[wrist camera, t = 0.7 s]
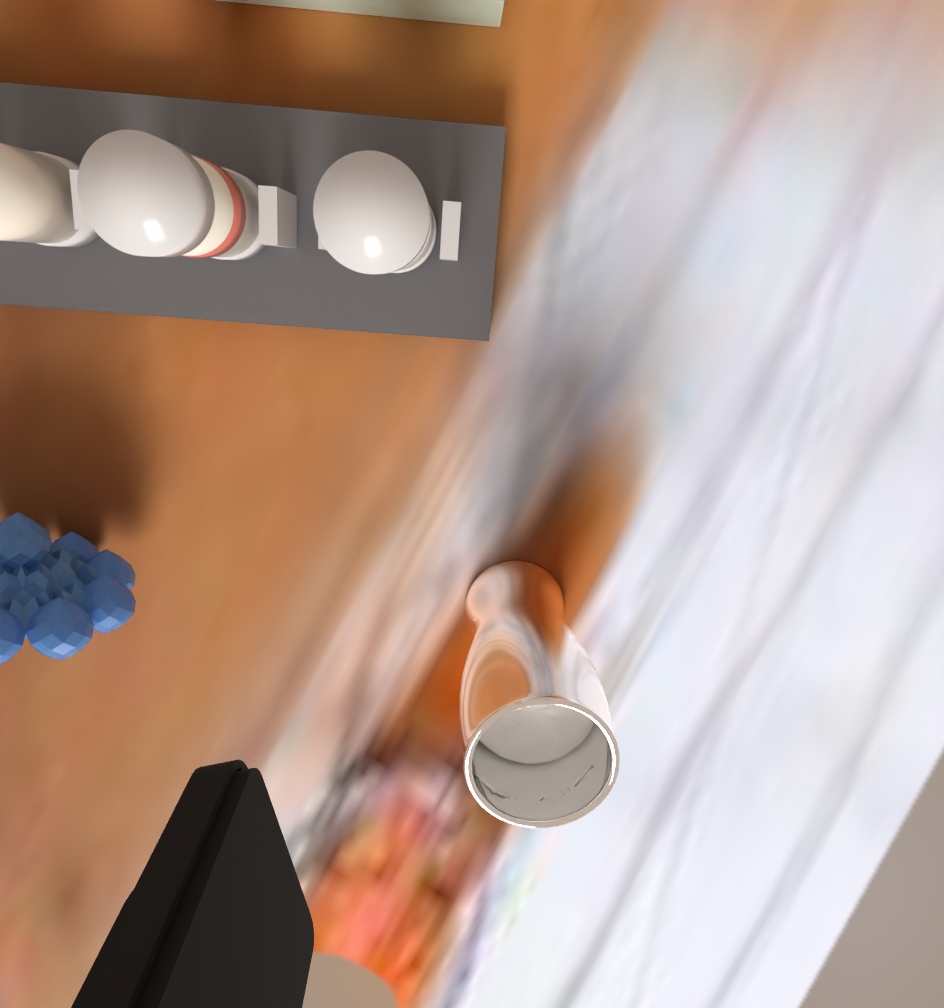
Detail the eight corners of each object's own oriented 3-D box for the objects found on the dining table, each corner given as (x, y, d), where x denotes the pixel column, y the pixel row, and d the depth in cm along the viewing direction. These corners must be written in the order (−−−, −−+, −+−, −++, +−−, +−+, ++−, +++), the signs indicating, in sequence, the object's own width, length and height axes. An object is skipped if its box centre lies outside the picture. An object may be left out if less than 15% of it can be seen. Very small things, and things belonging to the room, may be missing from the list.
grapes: (182, 492, 41) (77, 577, 30) (179, 597, 43) (80, 714, 32) (-26, 464, 40) (-215, 540, 29) (-19, 572, 43) (-192, 683, 31)
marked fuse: (189, 168, 34) (71, 124, 24) (273, 176, 34) (193, 134, 24) (193, 257, 35) (82, 251, 25) (274, 263, 36) (198, 260, 25)
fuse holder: (-29, 87, 35) (-124, 51, 29) (503, 134, 36) (512, 108, 30) (-1, 300, 38) (-83, 306, 32) (487, 337, 39) (492, 349, 33)
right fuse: (357, 183, 34) (313, 145, 24) (439, 190, 35) (432, 155, 24) (354, 269, 36) (312, 269, 25) (434, 276, 36) (425, 278, 25)
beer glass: (537, 533, 42) (578, 666, 28) (589, 623, 44) (652, 790, 30) (436, 586, 43) (427, 741, 29) (492, 672, 45) (509, 857, 31)
